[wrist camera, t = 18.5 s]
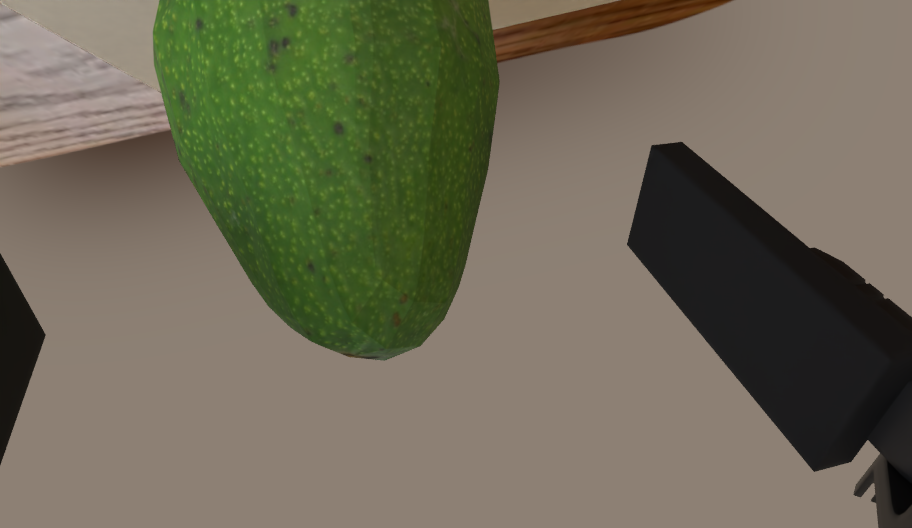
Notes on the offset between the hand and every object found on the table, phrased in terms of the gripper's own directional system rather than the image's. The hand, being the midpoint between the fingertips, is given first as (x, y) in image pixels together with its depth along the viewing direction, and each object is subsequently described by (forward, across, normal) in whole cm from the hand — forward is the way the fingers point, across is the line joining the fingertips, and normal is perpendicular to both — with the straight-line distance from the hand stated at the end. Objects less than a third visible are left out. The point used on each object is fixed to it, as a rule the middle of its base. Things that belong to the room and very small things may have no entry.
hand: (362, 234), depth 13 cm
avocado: (+8, 0, +5) cm, 10 cm away
